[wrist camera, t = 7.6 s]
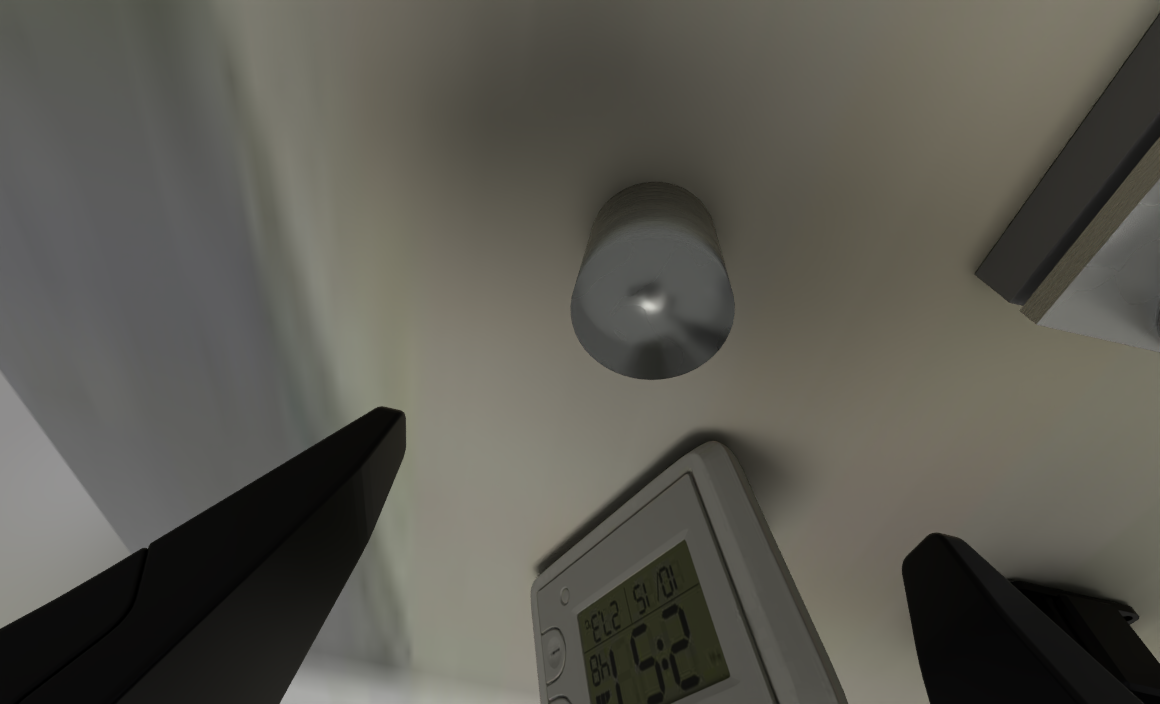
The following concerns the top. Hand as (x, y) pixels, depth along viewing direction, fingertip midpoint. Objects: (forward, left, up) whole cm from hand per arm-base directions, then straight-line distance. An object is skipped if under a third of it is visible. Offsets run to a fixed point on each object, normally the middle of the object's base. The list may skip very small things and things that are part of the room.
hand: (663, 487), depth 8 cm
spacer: (0, 0, -11) cm, 11 cm away
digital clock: (-16, -4, -11) cm, 20 cm away
